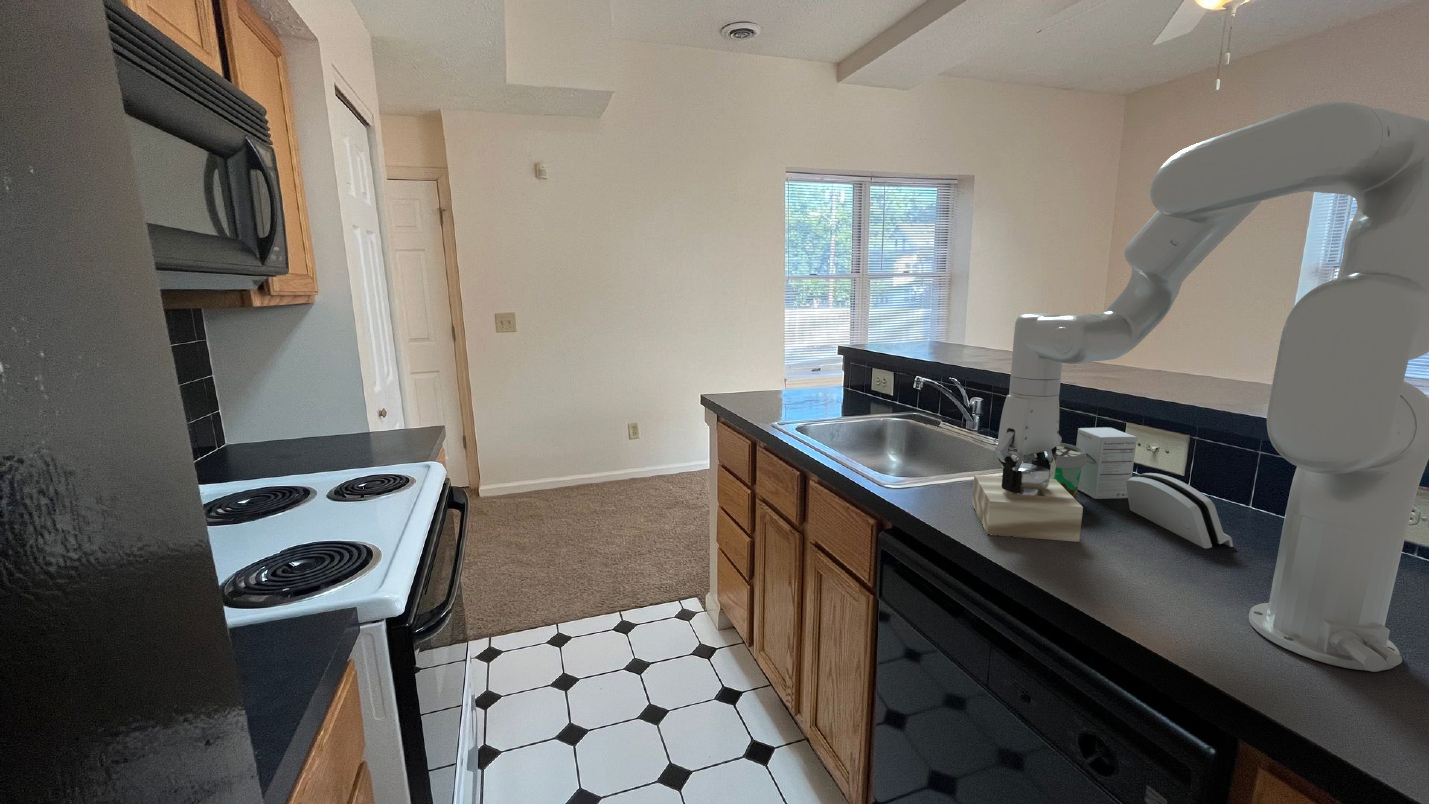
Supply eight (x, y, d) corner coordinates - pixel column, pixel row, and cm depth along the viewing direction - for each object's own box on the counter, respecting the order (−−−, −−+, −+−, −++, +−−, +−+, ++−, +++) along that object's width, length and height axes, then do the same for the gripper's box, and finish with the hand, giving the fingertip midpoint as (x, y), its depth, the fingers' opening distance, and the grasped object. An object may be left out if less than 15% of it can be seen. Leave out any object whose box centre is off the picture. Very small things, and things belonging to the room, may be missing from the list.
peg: (1050, 521, 102) (1055, 476, 100) (1006, 518, 104) (1010, 474, 102) (1038, 506, 109) (1042, 463, 107) (997, 503, 110) (1000, 462, 109)
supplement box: (1069, 486, 124) (1076, 427, 121) (1104, 485, 124) (1112, 426, 122) (1093, 499, 117) (1100, 436, 114) (1130, 498, 117) (1138, 435, 114)
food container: (1089, 511, 111) (1095, 459, 109) (1052, 508, 113) (1057, 457, 111) (1074, 489, 122) (1079, 442, 120) (1040, 486, 124) (1045, 440, 122)
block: (1079, 541, 98) (1083, 507, 97) (987, 534, 101) (990, 501, 100) (1052, 510, 112) (1055, 479, 110) (972, 504, 115) (974, 474, 114)
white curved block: (1235, 547, 95) (1224, 492, 93) (1207, 557, 96) (1195, 502, 94) (1154, 508, 112) (1143, 460, 110) (1130, 517, 112) (1119, 469, 110)
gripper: (1046, 379, 109) (1037, 473, 112) (980, 388, 101) (972, 489, 105) (1088, 385, 102) (1077, 485, 106) (1020, 395, 94) (1010, 502, 98)
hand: (1025, 486), depth 105 cm, fingers closed on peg, 6 cm apart
